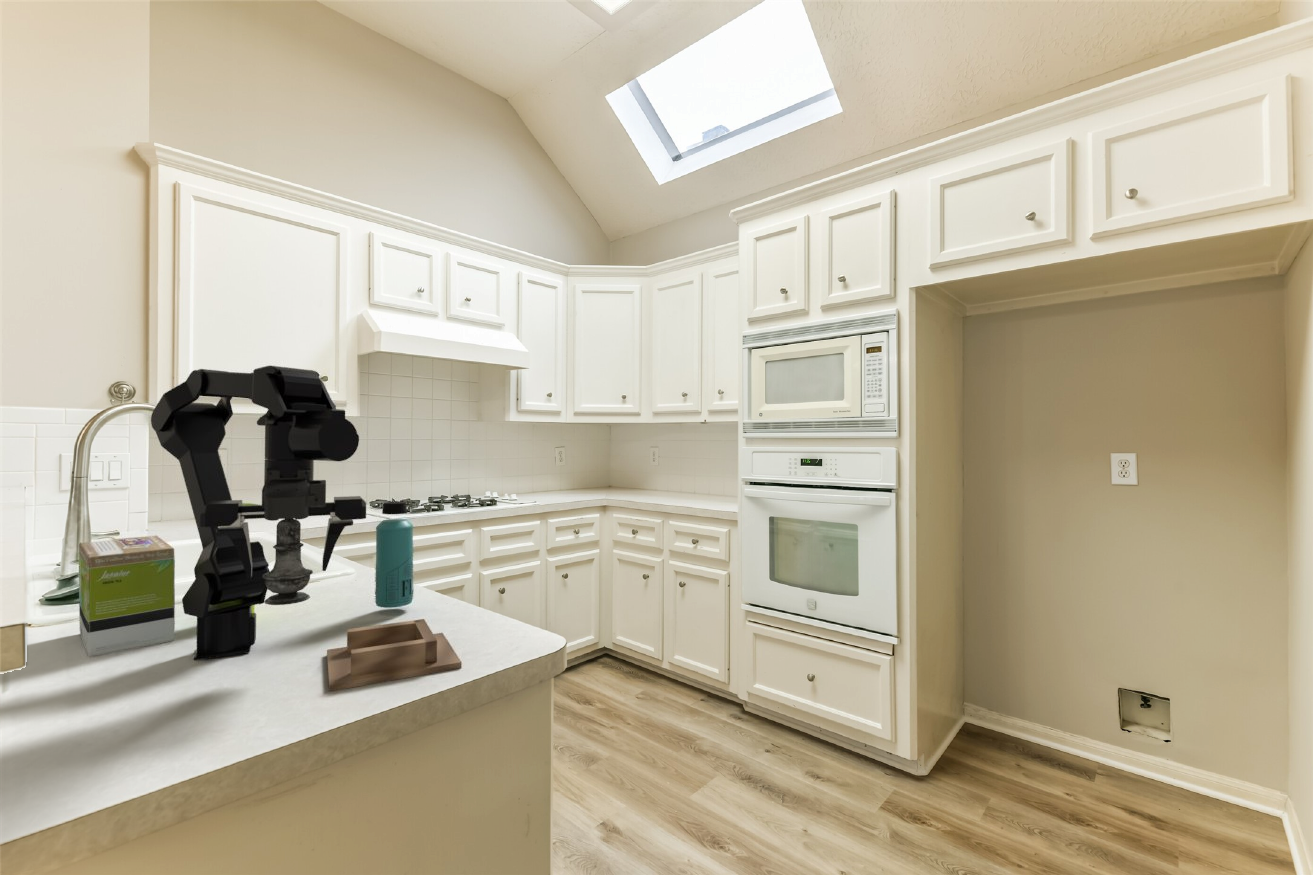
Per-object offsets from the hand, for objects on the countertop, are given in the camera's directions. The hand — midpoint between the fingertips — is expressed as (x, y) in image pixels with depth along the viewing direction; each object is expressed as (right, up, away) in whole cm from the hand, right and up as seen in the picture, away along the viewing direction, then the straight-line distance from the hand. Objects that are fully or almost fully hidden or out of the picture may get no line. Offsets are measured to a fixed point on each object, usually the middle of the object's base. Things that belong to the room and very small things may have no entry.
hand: (287, 573), depth 81 cm
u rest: (+13, -13, +3) cm, 19 cm away
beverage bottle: (+2, -13, +27) cm, 30 cm away
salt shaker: (0, -4, 0) cm, 4 cm away
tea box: (-32, -13, +11) cm, 37 cm away
